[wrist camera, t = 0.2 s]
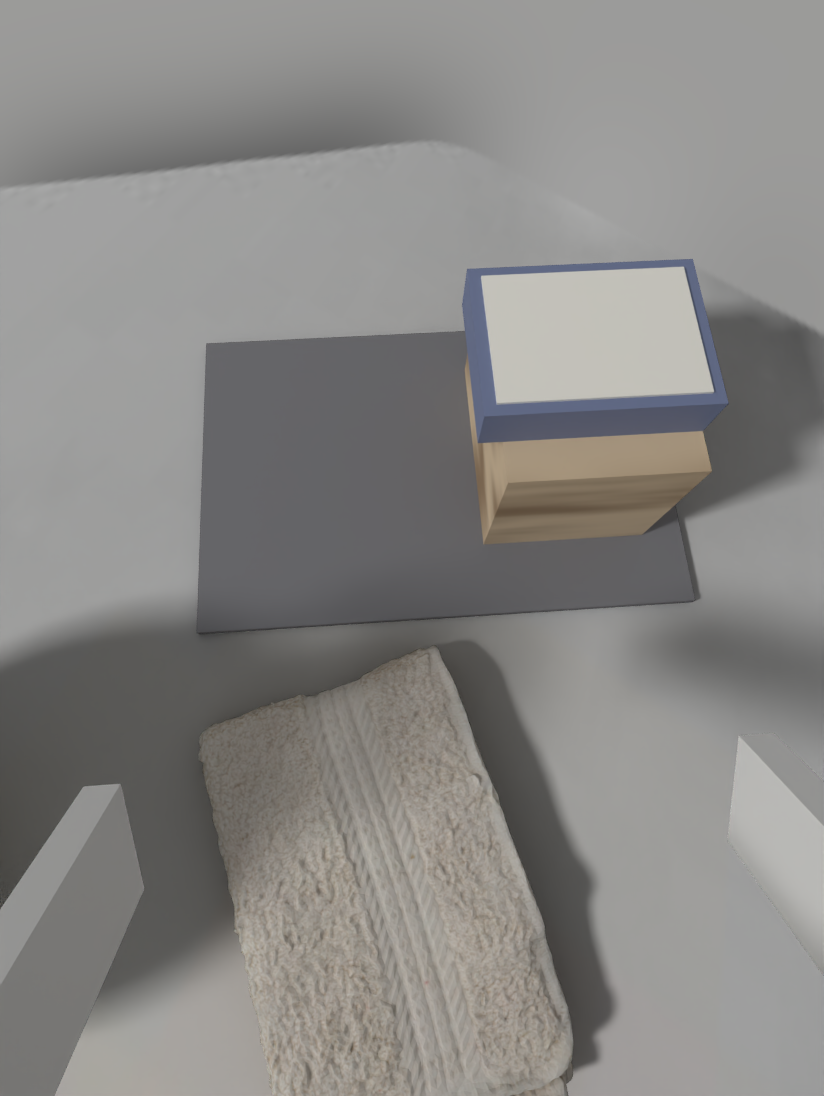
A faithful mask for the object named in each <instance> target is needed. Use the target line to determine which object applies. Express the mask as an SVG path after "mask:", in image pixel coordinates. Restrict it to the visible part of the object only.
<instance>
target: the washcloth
mask: <svg viewBox="0 0 824 1096" xmlns="http://www.w3.org/2000/svg"><path fill="white" fill-rule="evenodd" d="M199 745H200V749H201V750H200V752H199V754H198V757H199V761H200V762H203V774H204V778H205V784H206V789H207V791H208V795H209V799H210V800H211V806H212V808H213V814H212V817H213V823H214V825H215V829H216V830H217V832H218V846H219V851H220V854H221V856H222V857H223V860H224V866H225V870H226V872H227V876H228V891H229V893H230V895H231V897H232V900H233V904H234V909H235V911H234V917H235V923H234V927H235V929H234V932H236V933H237V935H239V943H240V944H241V948H242V952H241V953H243V954H244V956H245V962H246V963H245V970H246V972H247V974H248V979H249V980H250V983H249V988H248V989H249V993H250V997H251V998H252V1001H253V1006H254V1008H255V1010H256V1014H257V1017H258V1021H259V1030H260V1035H261V1036H260V1043H261V1045H262V1046H263V1054H264V1056H265V1058H266V1061H267V1071H268V1073H269V1074H270V1078H269V1080H270V1081H269V1086H270V1088H271V1089H272V1094H273V1096H568V1092H567V1086H566V1083H568V1082H569V1081H570V1080H571V1079H572V1077H573V1065H572V1063H571V1060H572V1054H573V1033H572V1026H571V1018H570V1014H569V1009H568V1005H567V1003H566V1000H565V997H564V994H563V991H562V988H561V985H560V982H559V980H558V977H557V973H556V971H555V968H554V963H553V959H552V954H551V952H550V949H549V946H548V942H547V939H546V935H545V925H544V922H543V919H542V915H541V912H540V910H539V908H538V906H537V903H536V899H535V897H534V895H533V891H532V889H531V887H530V883H529V880H528V878H527V875H526V873H525V870H524V868H523V865H522V862H521V860H520V858H519V855H518V852H517V849H516V847H515V844H514V843H513V839H512V836H511V834H510V831H509V829H508V826H507V823H506V820H505V817H504V814H503V810H502V808H501V805H500V802H499V797H498V794H497V792H496V790H495V788H494V785H493V783H492V782H491V779H490V777H489V774H488V771H487V769H486V767H485V765H484V762H483V760H482V757H481V754H480V752H479V749H478V747H477V744H476V742H475V739H474V736H473V733H472V729H471V726H470V723H469V721H468V717H467V713H466V711H465V709H464V706H463V704H462V701H461V699H460V697H459V693H458V690H457V688H456V685H455V683H454V681H453V679H452V677H451V674H450V672H449V671H448V670H447V667H446V666H445V664H444V662H443V660H442V657H441V654H440V651H439V650H438V648H437V647H436V646H435V645H434V646H431V647H430V648H428V649H422V648H419V649H418V650H415V651H413V652H412V653H410V654H407V655H404V656H402V657H401V658H400V659H392V660H390V661H389V662H388V663H384V664H382V665H380V666H379V667H377V668H375V669H374V670H373V671H371V672H369V673H367V674H364V675H363V676H362V677H361V678H360V679H359V680H356V681H354V682H351V683H348V684H346V685H341V686H338V687H336V688H334V689H332V690H326V691H323V692H321V693H319V694H318V695H312V696H308V697H307V696H305V695H301V694H299V695H297V696H295V697H293V698H289V699H287V700H282V701H279V702H277V703H273V702H271V704H270V705H268V706H261V707H259V708H257V709H255V710H252V711H250V712H248V713H245V714H243V715H242V716H240V717H238V718H233V719H228V720H225V721H224V722H222V723H216V724H213V725H212V726H210V727H208V728H207V729H206V730H205V731H203V732H202V733H201V735H200V738H199Z"/></svg>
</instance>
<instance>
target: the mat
mask: <svg viewBox="0 0 824 1096" xmlns="http://www.w3.org/2000/svg"><path fill="white" fill-rule="evenodd" d="M467 353H468V352H467V343H466V334H465V331H458V332H437V333H416V334H395V335H374V336H353V337H333V338H312V339H291V340H270V341H249V342H228V343H207V344H206V369H205V399H204V429H203V459H202V489H201V519H200V549H199V579H198V609H197V633H198V634H209V633H224V632H240V631H255V630H270V629H286V628H301V627H317V626H332V625H347V624H363V623H378V622H394V621H409V620H424V619H440V618H455V617H471V616H486V615H501V614H517V613H532V612H548V611H563V610H578V609H594V608H609V607H624V606H640V605H655V604H671V603H686V602H693V601H695V597H694V593H693V588H692V583H691V578H690V573H689V569H688V564H687V559H686V554H685V549H684V545H683V540H682V535H681V530H680V526H679V521H678V516H677V511H676V506H675V505H674V506H673V507H672V508H671V509H670V510H669V511H668V512H667V513H665V514H664V515H663V516H662V517H661V518H660V519H659V520H658V521H657V522H655V523H654V524H653V525H652V526H651V527H650V528H649V529H648V530H647V531H646V532H644V533H643V534H642V535H631V536H614V537H598V538H581V539H565V540H548V541H532V542H516V543H499V544H483V535H482V526H481V517H480V507H479V498H478V489H477V480H476V471H475V461H474V452H473V443H472V434H471V425H470V415H469V406H468V397H467V388H466V379H465V365H466V359H467Z"/></svg>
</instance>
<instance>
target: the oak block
mask: <svg viewBox="0 0 824 1096" xmlns="http://www.w3.org/2000/svg"><path fill="white" fill-rule="evenodd" d="M465 379H466V388H467V397H468V406H469V415H470V425H471V434H472V443H473V452H474V461H475V471H476V480H477V489H478V498H479V507H480V517H481V526H482V535H483V544H499V543H516V542H532V541H548V540H565V539H581V538H598V537H614V536H631V535H642V534H643V533H644V532H646V531H647V530H648V529H649V528H650V527H651V526H652V525H653V524H654V523H655V522H657V521H658V520H659V519H660V518H661V517H662V516H663V515H664V514H665V513H667V512H668V511H669V510H670V509H671V508H672V507H673V506H674V505H675V504H676V503H678V502H679V501H680V500H681V499H682V498H683V497H684V496H685V495H686V494H688V493H689V492H690V491H691V490H692V489H693V488H694V487H695V486H696V485H697V484H699V483H700V482H701V481H702V480H703V479H704V478H705V477H706V476H707V475H709V474H710V473H711V472H712V469H711V464H710V460H709V456H708V451H707V447H706V443H705V438H704V434H703V431H694V432H676V433H657V434H639V435H621V436H602V437H584V438H566V439H547V440H529V441H511V442H493V443H478V442H477V433H476V424H475V415H474V406H473V397H472V388H471V379H470V370H469V361H468V353H467V359H466V365H465Z"/></svg>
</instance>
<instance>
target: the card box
mask: <svg viewBox="0 0 824 1096" xmlns="http://www.w3.org/2000/svg"><path fill="white" fill-rule="evenodd" d="M462 307H463V316H464V325H465V334H466V343H467V352H468V361H469V370H470V379H471V388H472V397H473V406H474V415H475V424H476V433H477V442H478V443H493V442H511V441H529V440H547V439H566V438H584V437H602V436H621V435H639V434H657V433H676V432H694V431H703V430H704V429H705V428H706V427H707V426H708V425H709V424H710V423H711V422H712V421H713V420H714V419H715V417H716V416H717V415H718V414H719V413H720V412H721V411H722V410H723V409H724V408H725V407H726V406H727V405H728V404H729V403H728V399H727V395H726V391H725V387H724V383H723V379H722V375H721V371H720V367H719V363H718V359H717V355H716V351H715V347H714V343H713V339H712V335H711V331H710V327H709V323H708V319H707V315H706V311H705V307H704V303H703V298H702V294H701V290H700V286H699V282H698V278H697V274H696V270H695V266H694V262H693V259H682V260H660V261H637V262H614V263H592V264H569V265H547V266H524V267H501V268H479V269H467V274H466V281H465V288H464V295H463V303H462Z"/></svg>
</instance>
